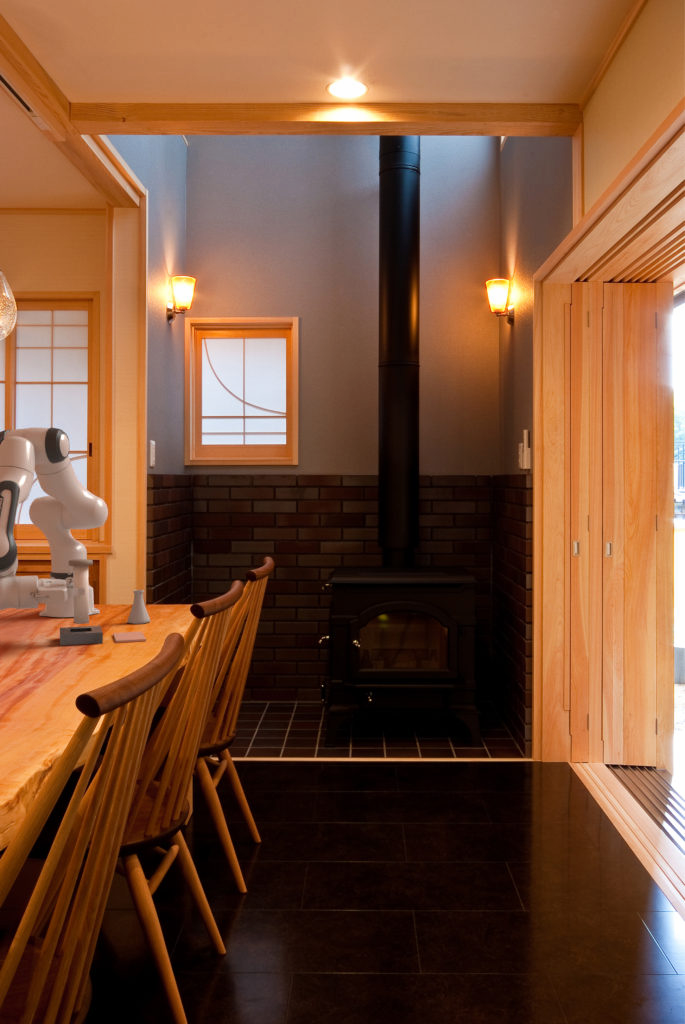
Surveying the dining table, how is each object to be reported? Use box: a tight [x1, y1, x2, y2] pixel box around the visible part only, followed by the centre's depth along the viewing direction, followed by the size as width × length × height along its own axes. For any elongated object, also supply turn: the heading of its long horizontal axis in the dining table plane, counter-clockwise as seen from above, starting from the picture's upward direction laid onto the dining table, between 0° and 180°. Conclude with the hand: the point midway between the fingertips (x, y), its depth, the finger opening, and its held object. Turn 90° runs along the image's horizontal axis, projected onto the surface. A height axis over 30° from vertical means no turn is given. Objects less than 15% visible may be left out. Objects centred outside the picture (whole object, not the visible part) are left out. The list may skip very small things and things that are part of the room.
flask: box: [126, 589, 151, 625], centre depth 270 cm, size 7×7×10 cm
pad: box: [112, 631, 147, 644], centre depth 244 cm, size 12×8×1 cm, turn 19°
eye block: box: [59, 625, 104, 647], centre depth 240 cm, size 11×11×3 cm
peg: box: [69, 558, 94, 625], centre depth 239 cm, size 6×6×17 cm
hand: (84, 589), depth 240 cm, fingers closed on peg, 4 cm apart
